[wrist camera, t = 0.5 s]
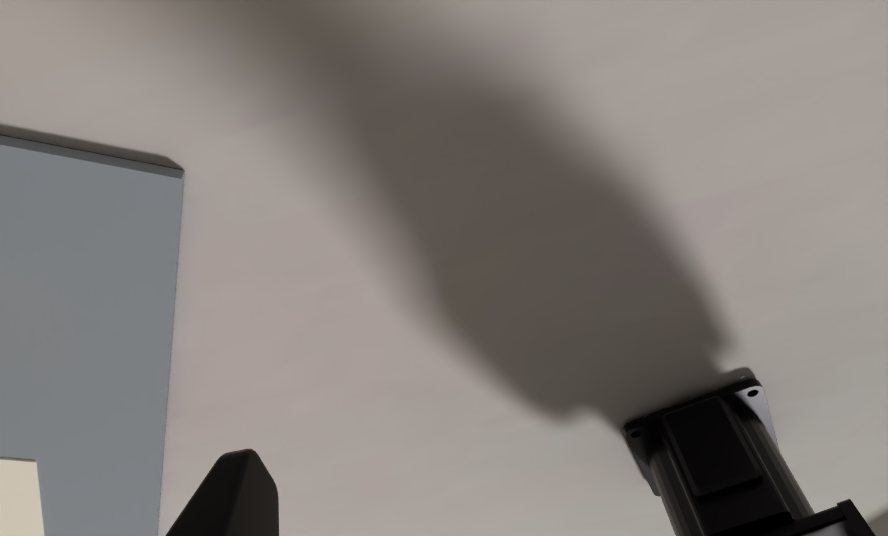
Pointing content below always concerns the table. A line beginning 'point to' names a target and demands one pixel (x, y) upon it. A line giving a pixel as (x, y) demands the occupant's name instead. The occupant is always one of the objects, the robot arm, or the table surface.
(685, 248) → the table surface
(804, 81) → the table surface
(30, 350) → the rubber mat
